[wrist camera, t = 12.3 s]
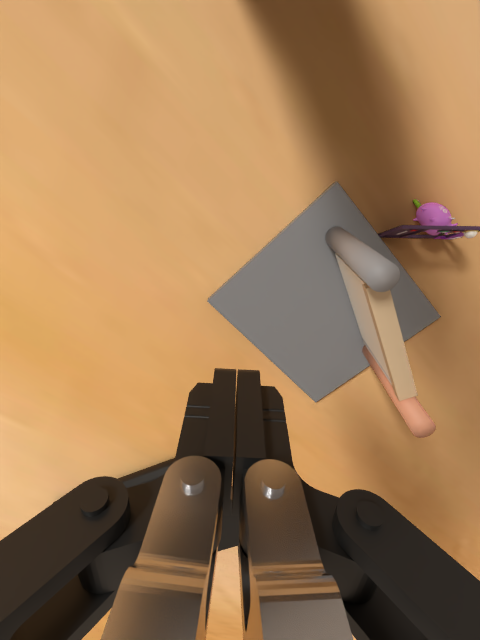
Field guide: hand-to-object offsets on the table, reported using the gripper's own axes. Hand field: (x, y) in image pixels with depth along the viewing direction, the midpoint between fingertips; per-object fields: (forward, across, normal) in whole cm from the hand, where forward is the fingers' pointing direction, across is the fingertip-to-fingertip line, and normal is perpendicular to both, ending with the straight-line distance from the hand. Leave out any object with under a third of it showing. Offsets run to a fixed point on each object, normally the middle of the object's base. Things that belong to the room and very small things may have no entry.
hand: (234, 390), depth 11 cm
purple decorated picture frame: (+34, -22, -1) cm, 41 cm away
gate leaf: (+32, -16, +10) cm, 37 cm away
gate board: (+34, -12, +12) cm, 38 cm away
